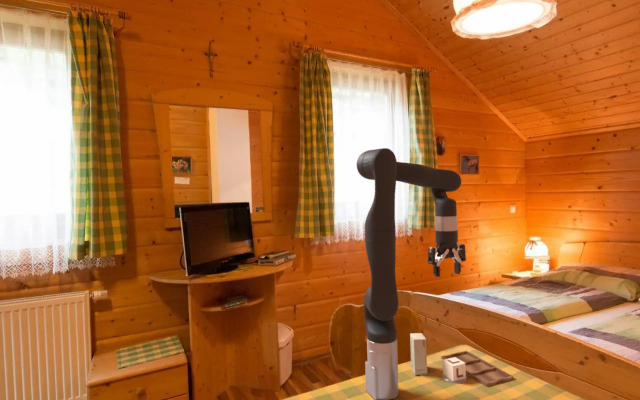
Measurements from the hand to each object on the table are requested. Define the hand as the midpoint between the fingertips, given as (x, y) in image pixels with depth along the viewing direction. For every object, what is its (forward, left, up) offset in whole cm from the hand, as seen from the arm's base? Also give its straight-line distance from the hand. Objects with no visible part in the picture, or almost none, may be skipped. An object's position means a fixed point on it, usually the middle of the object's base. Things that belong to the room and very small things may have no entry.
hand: (447, 275), depth 138 cm
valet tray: (+6, -6, -32) cm, 33 cm away
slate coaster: (-5, -8, -32) cm, 33 cm away
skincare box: (-12, +1, -32) cm, 34 cm away
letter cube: (-5, -8, -32) cm, 33 cm away
